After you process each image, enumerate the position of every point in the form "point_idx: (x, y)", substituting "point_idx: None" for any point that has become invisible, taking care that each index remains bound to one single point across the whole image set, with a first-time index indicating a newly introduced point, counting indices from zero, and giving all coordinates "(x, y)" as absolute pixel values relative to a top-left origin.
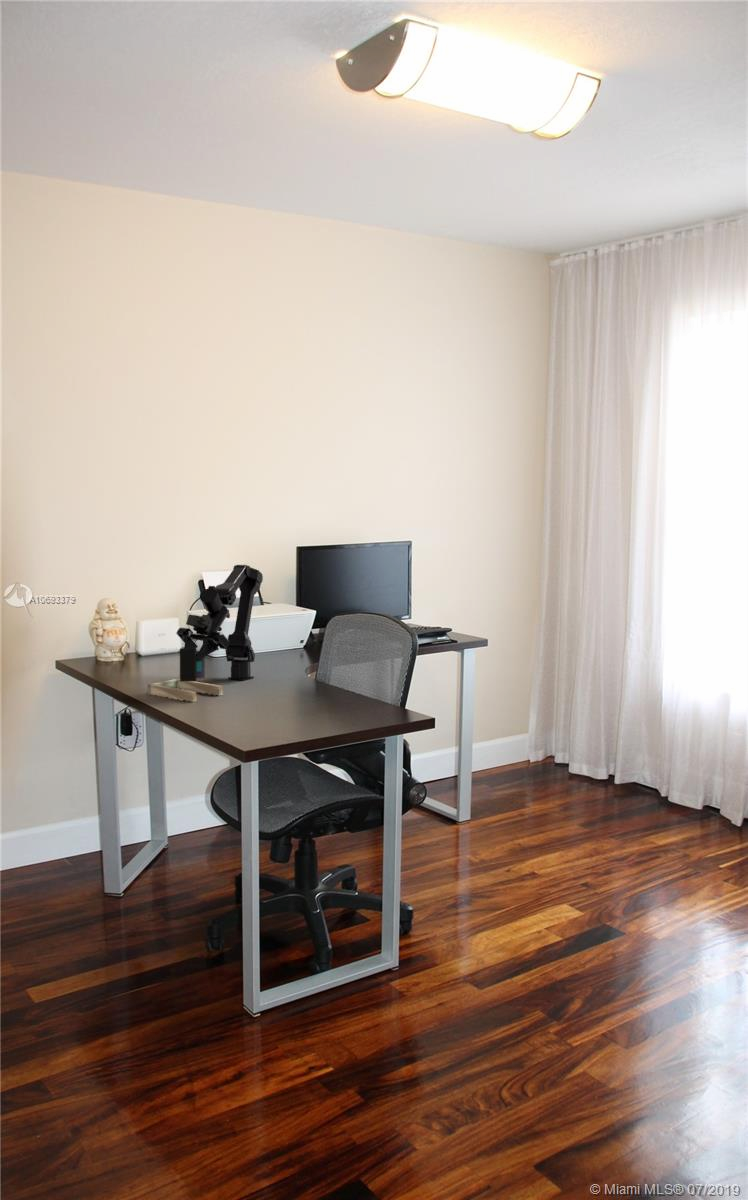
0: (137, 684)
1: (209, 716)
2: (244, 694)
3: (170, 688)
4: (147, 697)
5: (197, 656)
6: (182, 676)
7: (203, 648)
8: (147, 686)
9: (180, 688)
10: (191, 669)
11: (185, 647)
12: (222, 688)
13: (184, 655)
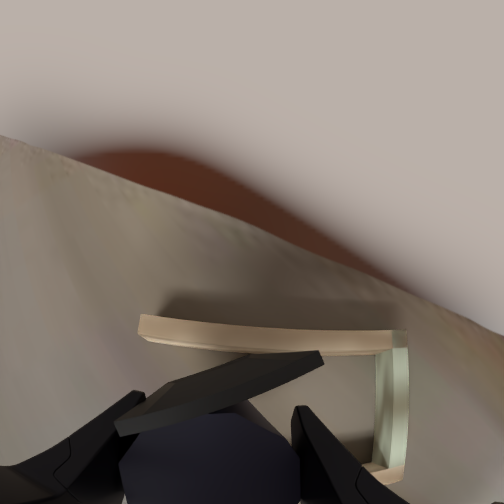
0: (487, 400)
1: (42, 213)
2: None
3: (284, 334)
4: (350, 302)
5: (117, 402)
6: (242, 361)
7: (51, 450)
8: (402, 330)
9: None
10: (188, 383)
11: (347, 472)
12: None
13: (250, 374)
